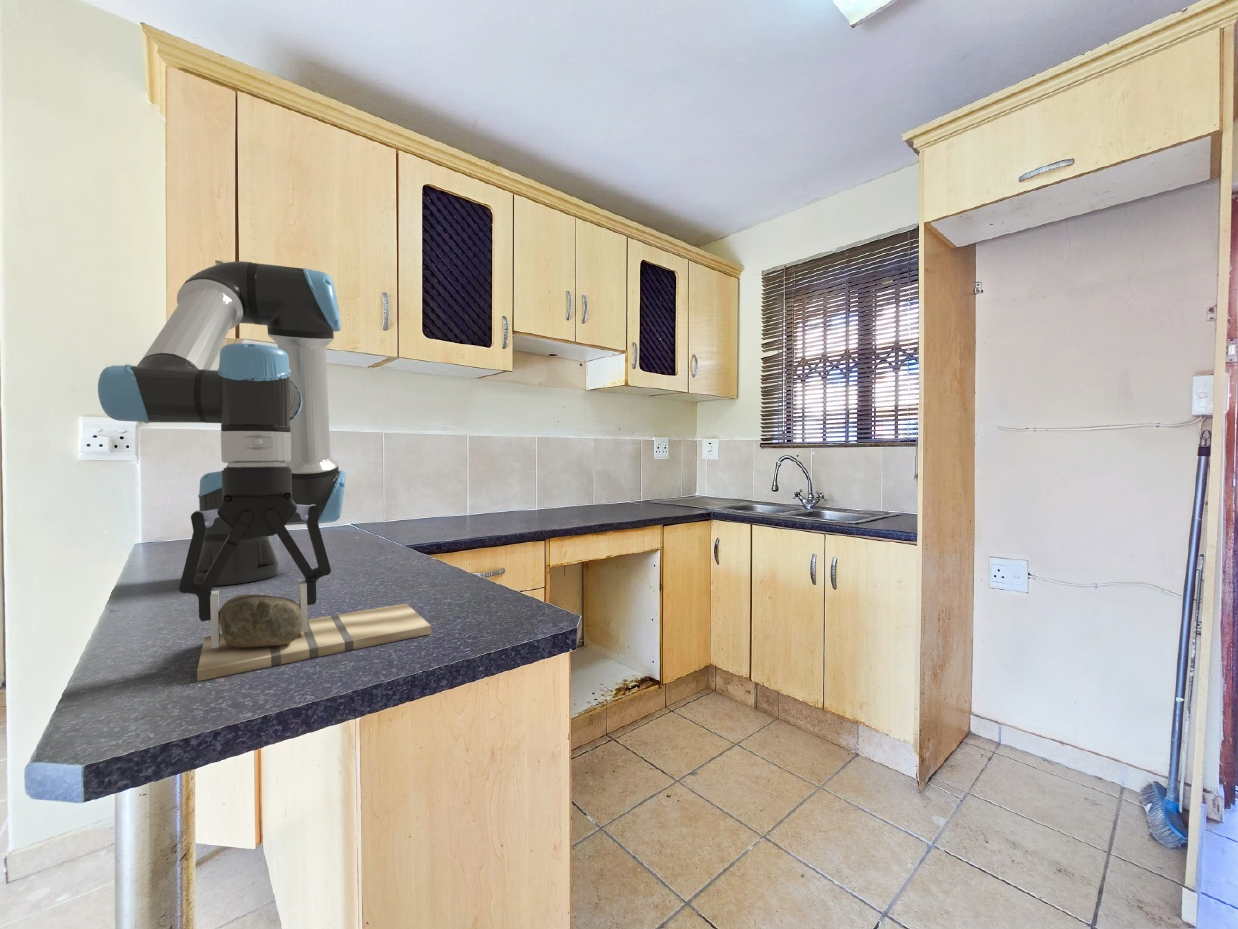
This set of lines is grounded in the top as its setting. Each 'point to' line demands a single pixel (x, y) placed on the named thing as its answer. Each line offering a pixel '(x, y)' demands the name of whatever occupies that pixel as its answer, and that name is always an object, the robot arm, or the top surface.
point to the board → (316, 640)
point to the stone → (260, 621)
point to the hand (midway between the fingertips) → (261, 636)
